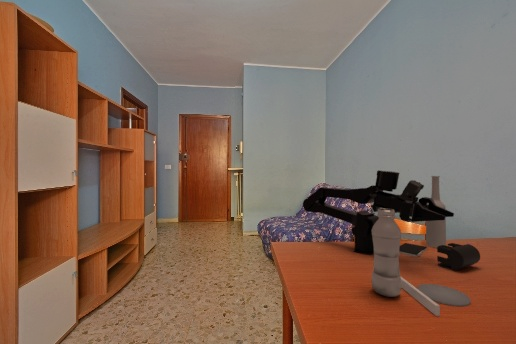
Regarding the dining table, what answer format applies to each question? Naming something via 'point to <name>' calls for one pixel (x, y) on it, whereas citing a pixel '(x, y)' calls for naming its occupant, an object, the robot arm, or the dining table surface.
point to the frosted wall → (421, 297)
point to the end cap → (457, 256)
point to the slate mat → (444, 295)
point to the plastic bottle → (386, 254)
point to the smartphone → (411, 249)
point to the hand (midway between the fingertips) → (449, 216)
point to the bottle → (436, 228)
